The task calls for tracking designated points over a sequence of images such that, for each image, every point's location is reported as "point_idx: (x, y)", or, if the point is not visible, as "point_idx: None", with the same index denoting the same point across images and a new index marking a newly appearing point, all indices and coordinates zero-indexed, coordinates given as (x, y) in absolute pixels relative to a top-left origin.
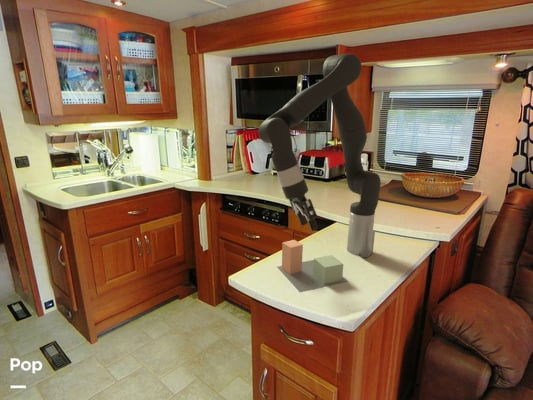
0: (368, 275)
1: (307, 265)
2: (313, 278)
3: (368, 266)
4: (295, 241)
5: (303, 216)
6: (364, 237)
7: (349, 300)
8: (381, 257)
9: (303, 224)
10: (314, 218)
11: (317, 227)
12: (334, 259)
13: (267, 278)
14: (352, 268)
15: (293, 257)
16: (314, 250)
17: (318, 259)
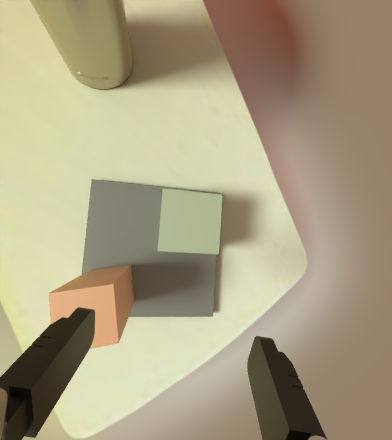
0: (205, 128)
1: (110, 234)
2: (175, 257)
3: (172, 95)
4: (70, 297)
5: (53, 372)
6: (118, 11)
7: (263, 229)
8: (148, 31)
9: (91, 335)
10: (307, 428)
11: (271, 344)
12: (190, 199)
13: (112, 353)
14: (163, 135)
15: (125, 310)
16: (20, 152)
17: (170, 243)
